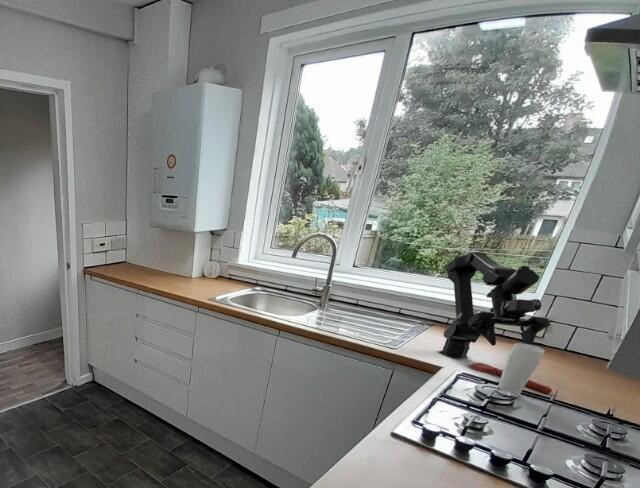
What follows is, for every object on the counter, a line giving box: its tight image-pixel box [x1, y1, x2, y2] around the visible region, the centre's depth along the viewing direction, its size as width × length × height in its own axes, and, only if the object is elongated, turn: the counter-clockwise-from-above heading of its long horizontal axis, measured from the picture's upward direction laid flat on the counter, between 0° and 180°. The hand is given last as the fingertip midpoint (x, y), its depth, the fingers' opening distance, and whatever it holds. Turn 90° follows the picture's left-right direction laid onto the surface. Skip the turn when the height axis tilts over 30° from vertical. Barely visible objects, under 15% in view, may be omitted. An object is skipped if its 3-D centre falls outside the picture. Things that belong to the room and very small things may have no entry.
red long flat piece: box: [470, 362, 553, 394], centre depth 132 cm, size 22×6×2 cm, turn 17°
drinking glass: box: [497, 342, 545, 398], centre depth 119 cm, size 7×7×15 cm
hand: (511, 346), depth 122 cm, fingers open, 9 cm apart
